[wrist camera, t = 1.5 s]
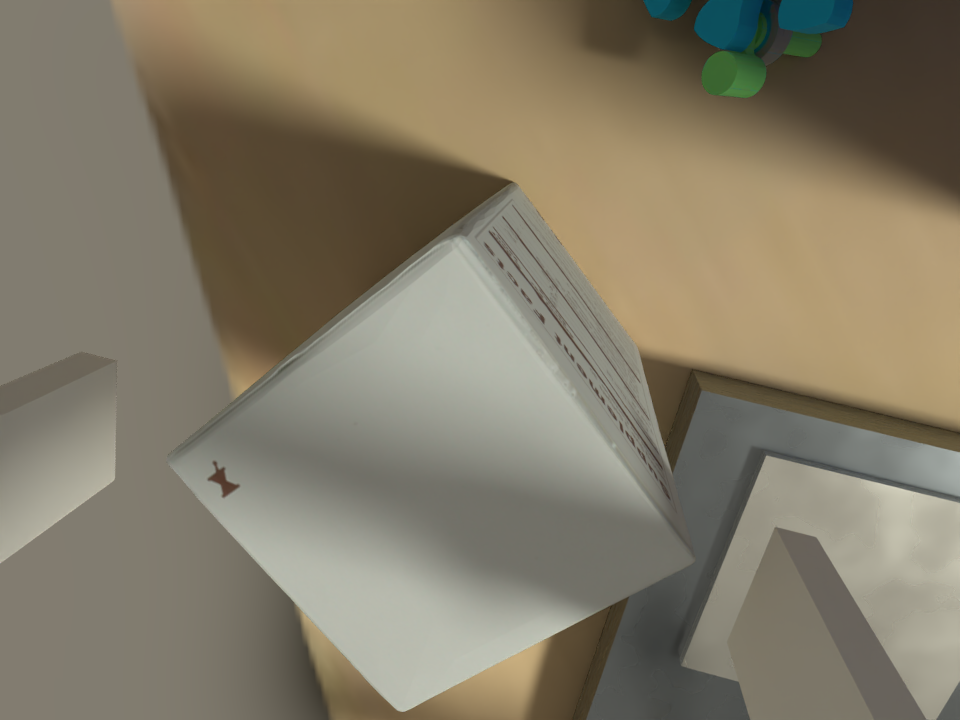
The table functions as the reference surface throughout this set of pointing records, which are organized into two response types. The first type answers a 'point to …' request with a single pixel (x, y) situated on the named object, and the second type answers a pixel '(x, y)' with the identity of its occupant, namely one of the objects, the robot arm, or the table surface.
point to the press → (800, 508)
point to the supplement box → (451, 460)
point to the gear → (754, 35)
